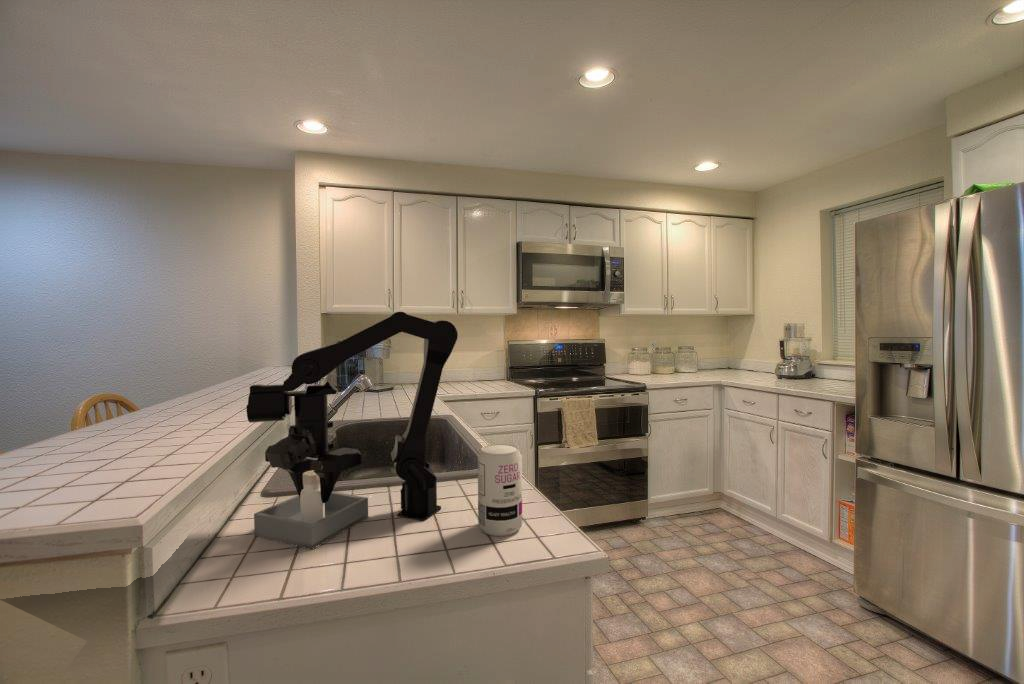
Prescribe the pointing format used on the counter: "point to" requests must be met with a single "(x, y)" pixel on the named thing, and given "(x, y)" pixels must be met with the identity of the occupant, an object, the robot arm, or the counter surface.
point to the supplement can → (500, 489)
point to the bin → (288, 527)
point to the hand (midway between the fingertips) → (313, 500)
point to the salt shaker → (311, 499)
